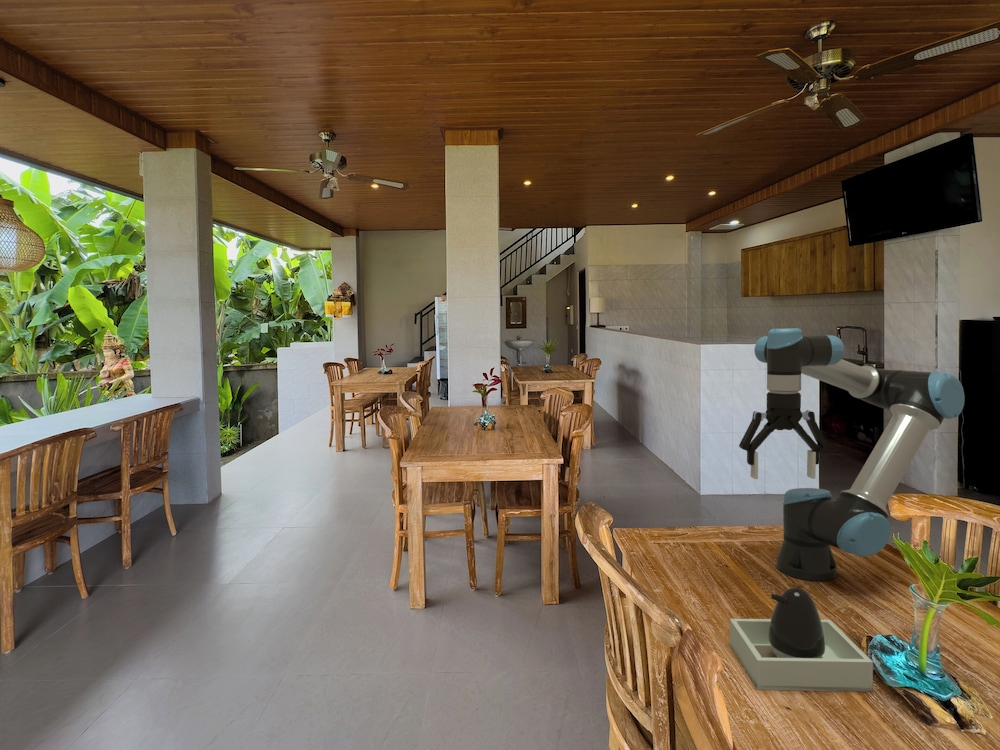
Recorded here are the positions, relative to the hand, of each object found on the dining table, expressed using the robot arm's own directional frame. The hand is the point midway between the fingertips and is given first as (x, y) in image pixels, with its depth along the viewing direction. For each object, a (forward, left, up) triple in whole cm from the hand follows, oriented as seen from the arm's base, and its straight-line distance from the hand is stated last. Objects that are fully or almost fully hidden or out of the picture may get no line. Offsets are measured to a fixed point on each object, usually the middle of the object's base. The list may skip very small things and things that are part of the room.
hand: (782, 477), depth 142 cm
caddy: (+9, +28, -32) cm, 43 cm away
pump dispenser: (+9, +28, -31) cm, 43 cm away
